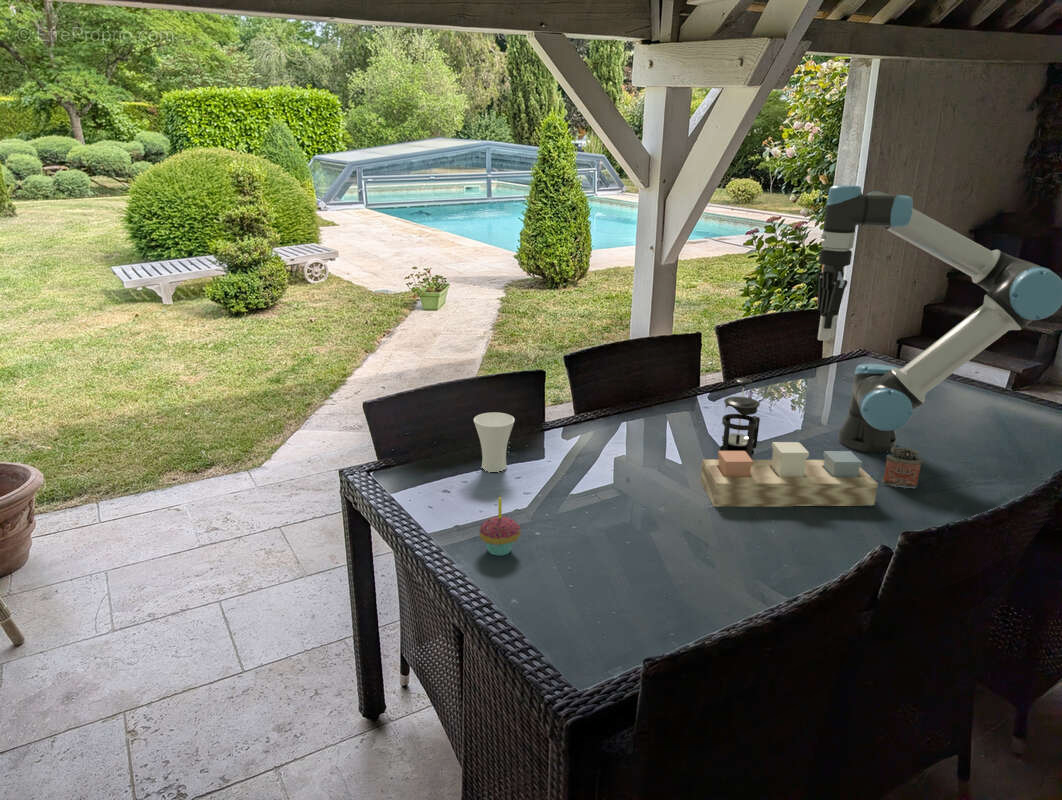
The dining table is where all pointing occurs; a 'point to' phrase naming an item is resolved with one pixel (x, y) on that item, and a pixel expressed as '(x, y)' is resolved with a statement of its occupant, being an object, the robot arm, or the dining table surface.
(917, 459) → the lighter
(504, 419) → the cup
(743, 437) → the french press
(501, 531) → the cupcake
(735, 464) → the terracotta key
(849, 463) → the slate key
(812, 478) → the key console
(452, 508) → the dining table surface
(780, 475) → the cream key
